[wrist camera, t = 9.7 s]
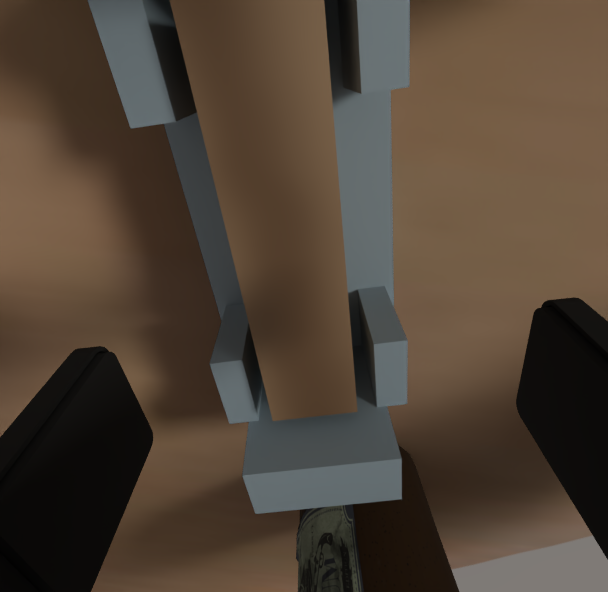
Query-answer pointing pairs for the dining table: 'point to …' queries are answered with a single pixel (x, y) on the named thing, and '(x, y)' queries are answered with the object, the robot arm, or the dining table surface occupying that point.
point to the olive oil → (374, 545)
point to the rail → (277, 188)
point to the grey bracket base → (356, 233)
